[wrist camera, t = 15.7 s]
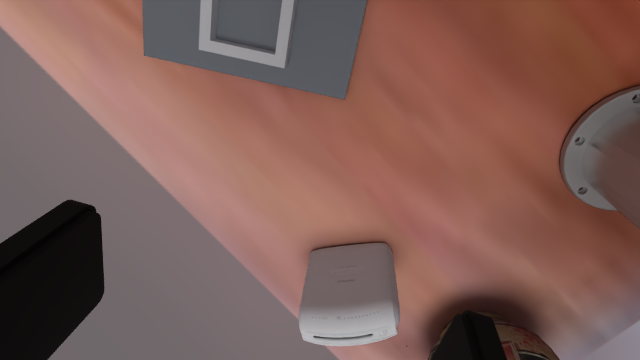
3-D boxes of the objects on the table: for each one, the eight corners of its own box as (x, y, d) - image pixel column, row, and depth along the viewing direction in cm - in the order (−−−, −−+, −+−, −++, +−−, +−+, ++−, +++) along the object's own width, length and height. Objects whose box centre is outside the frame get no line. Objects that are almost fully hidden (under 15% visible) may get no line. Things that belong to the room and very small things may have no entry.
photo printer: (391, 237, 44) (400, 319, 33) (395, 266, 46) (405, 353, 35) (306, 246, 46) (287, 326, 35) (313, 273, 48) (298, 358, 37)
